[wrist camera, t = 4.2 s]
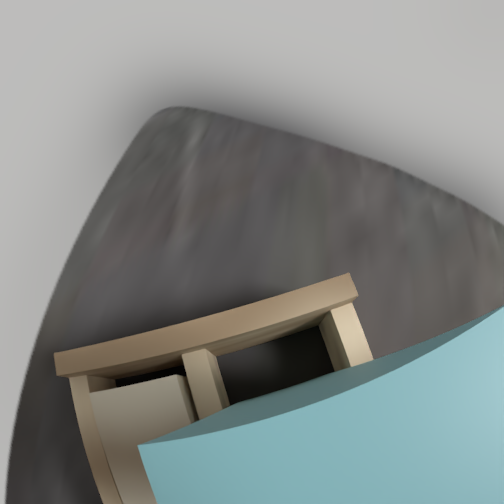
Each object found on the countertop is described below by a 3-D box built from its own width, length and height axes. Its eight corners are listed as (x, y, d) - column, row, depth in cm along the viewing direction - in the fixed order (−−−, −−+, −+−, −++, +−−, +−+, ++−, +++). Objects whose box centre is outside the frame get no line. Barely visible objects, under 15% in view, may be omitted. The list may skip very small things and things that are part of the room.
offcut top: (236, 515, 10) (232, 532, 8) (155, 525, 9) (140, 541, 8) (187, 377, 13) (175, 374, 11) (110, 394, 12) (89, 393, 11)
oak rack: (388, 473, 12) (422, 492, 8) (146, 532, 10) (117, 561, 7) (329, 301, 16) (348, 272, 12) (95, 364, 14) (53, 353, 11)
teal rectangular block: (350, 445, 12) (546, 525, 1) (262, 474, 12) (256, 667, 1) (327, 374, 14) (511, 301, 3) (238, 402, 14) (136, 446, 2)
